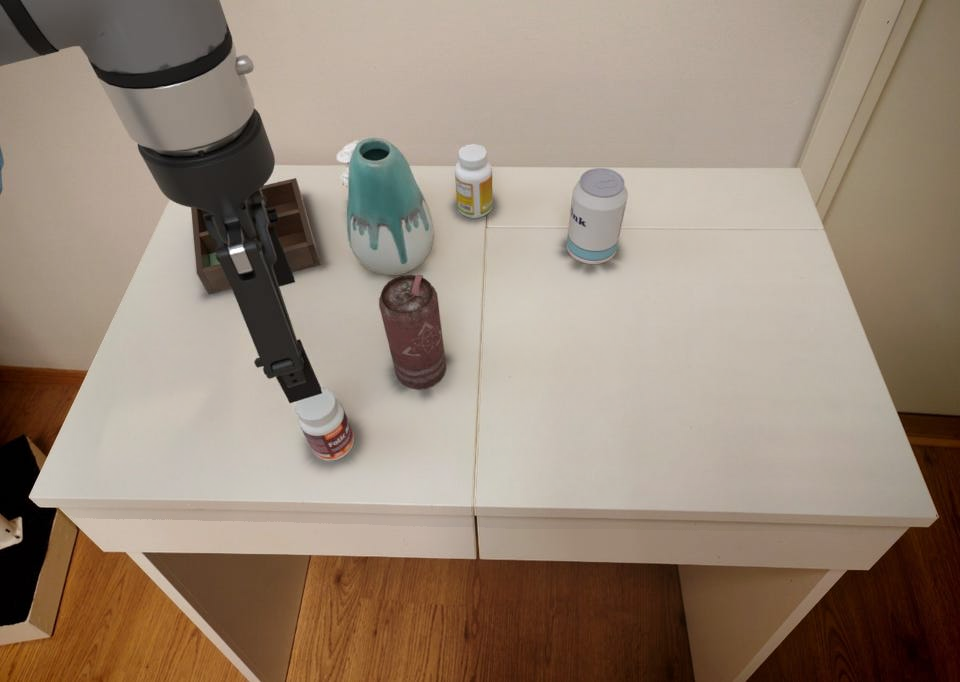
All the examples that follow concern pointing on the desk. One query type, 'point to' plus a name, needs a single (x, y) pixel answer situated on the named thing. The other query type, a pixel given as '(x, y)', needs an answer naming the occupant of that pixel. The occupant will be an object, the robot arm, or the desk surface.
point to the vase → (386, 210)
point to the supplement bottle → (473, 181)
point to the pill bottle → (325, 425)
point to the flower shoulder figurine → (346, 159)
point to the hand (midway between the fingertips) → (292, 335)
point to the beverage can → (596, 215)
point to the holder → (289, 228)
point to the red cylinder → (413, 330)
